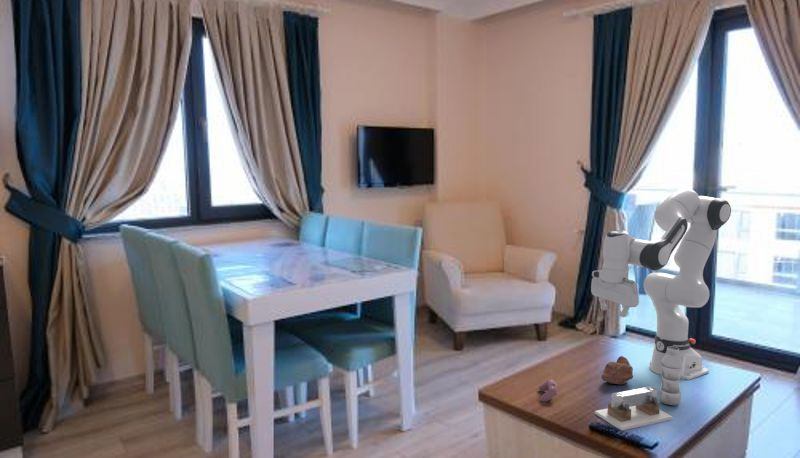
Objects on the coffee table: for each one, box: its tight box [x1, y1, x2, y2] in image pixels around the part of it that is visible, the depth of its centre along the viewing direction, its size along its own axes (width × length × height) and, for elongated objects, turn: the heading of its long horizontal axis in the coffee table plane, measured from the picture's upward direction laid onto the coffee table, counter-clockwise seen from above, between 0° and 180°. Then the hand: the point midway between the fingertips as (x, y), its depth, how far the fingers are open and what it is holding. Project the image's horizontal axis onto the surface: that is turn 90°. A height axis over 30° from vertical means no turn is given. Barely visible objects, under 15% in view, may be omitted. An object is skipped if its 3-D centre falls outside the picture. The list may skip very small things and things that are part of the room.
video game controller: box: [538, 379, 558, 402], centre depth 189 cm, size 10×5×7 cm, turn 169°
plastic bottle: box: [658, 346, 683, 406], centre depth 183 cm, size 6×7×20 cm
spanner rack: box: [594, 398, 674, 431], centre depth 174 cm, size 21×12×6 cm, turn 111°
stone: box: [601, 355, 634, 385], centre depth 200 cm, size 13×8×10 cm
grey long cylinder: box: [610, 386, 658, 409], centre depth 174 cm, size 18×4×4 cm, turn 110°
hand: (613, 313), depth 192 cm, fingers open, 8 cm apart
